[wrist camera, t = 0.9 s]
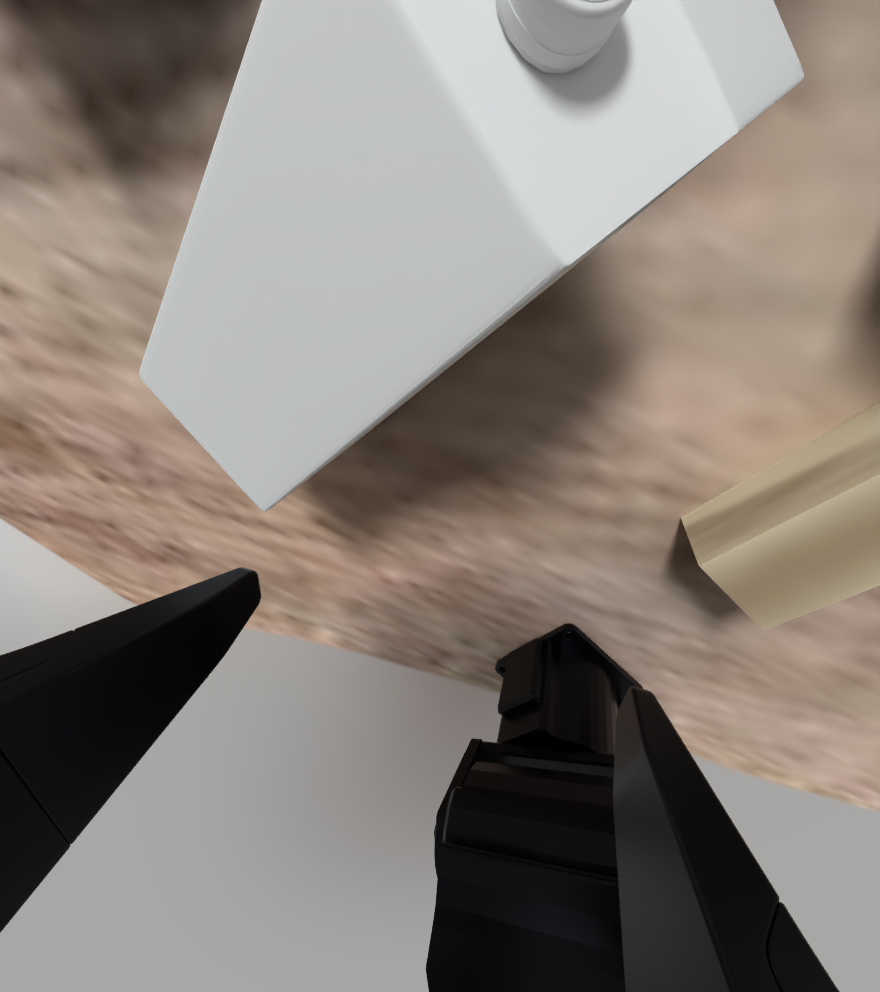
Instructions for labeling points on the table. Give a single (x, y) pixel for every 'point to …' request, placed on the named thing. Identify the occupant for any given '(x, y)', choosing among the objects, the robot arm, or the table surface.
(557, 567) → the table surface
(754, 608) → the beige rectangular block
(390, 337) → the milk carton
